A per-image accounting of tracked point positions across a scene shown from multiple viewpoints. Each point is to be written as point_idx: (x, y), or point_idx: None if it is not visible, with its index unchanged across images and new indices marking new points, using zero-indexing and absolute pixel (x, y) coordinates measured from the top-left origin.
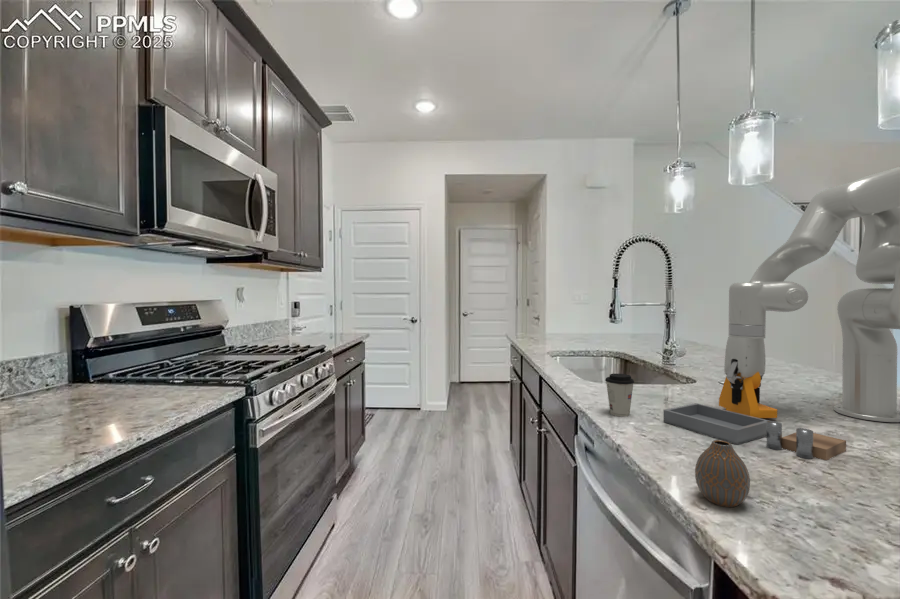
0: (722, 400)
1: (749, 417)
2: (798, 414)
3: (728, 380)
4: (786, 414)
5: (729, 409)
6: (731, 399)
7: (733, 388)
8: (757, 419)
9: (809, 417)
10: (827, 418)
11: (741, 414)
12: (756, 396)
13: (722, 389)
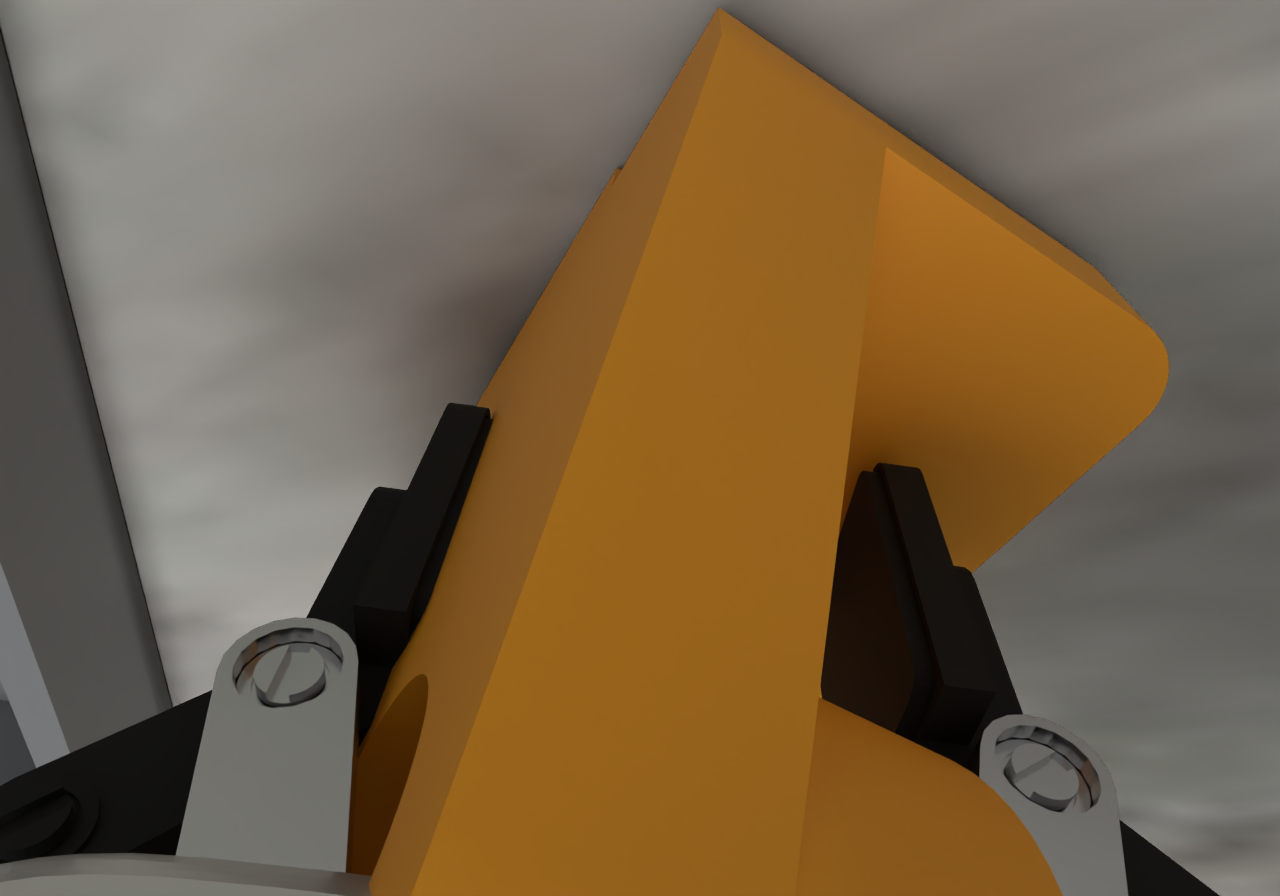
0: (658, 136)
1: (18, 709)
2: (1232, 729)
3: (479, 598)
4: (1137, 664)
5: (564, 264)
6: (517, 391)
7: (364, 621)
8: (43, 763)
9: (1150, 798)
10: (1222, 877)
11: (3, 647)
12: (826, 697)
13: (645, 221)
